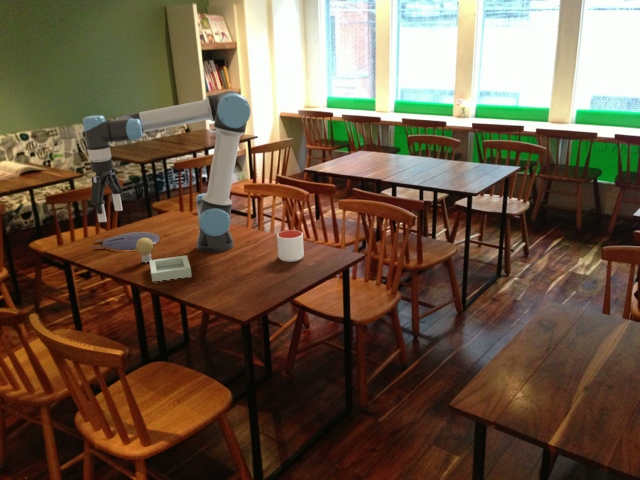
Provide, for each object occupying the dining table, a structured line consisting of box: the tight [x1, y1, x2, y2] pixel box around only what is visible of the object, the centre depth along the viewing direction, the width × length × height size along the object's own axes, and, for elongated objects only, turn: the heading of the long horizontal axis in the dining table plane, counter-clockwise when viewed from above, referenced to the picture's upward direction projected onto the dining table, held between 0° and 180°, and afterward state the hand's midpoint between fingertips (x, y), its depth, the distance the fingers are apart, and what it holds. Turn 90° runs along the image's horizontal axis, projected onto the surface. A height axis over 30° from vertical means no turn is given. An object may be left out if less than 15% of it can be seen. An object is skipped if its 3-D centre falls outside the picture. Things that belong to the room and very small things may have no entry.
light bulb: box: [136, 238, 154, 264], centre depth 229 cm, size 6×6×10 cm
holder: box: [149, 255, 193, 282], centre depth 219 cm, size 14×14×4 cm
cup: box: [276, 229, 305, 263], centre depth 228 cm, size 10×10×10 cm
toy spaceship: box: [91, 231, 161, 250], centre depth 253 cm, size 28×24×3 cm
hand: (111, 216), depth 218 cm, fingers open, 13 cm apart
